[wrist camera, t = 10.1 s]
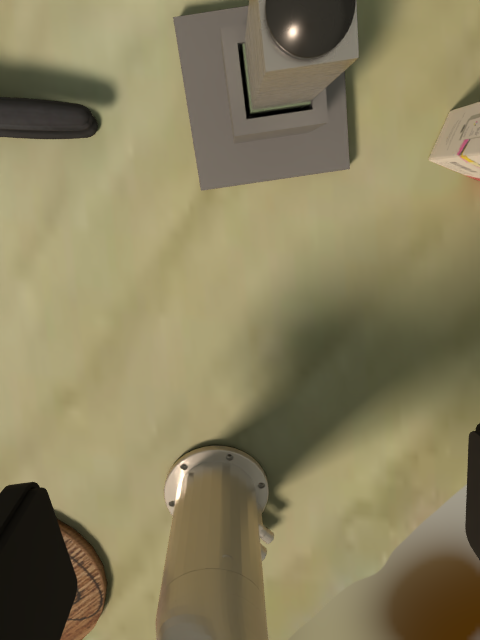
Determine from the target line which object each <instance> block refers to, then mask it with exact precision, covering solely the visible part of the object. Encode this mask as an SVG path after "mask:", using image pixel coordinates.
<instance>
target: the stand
mask: <svg viewBox="0 0 480 640" xmlns="http://www.w3.org/2000/svg"><path fill="white" fill-rule="evenodd" d="M248 8H249V6H243V7H237V8H230V9H224V10H217V11H211V12H204V13H198V14H191V15H185V16H178V17H173V19H174V25H175V31H176V37H177V44H178V50H179V56H180V62H181V69H182V75H183V81H184V87H185V94H186V100H187V106H188V112H189V119H190V125H191V131H192V137H193V144H194V150H195V156H196V162H197V169H198V175H199V181H200V187H201V190H208V189H215V188H222V187H229V186H236V185H243V184H250V183H256V182H263V181H270V180H277V179H284V178H291V177H298V176H305V175H312V174H318V173H325V172H332V171H339V170H346V169H350V164H349V145H348V126H347V108H346V89H345V71H344V72H342V73H341V74H340V75H339V76H338V77H337V78H336V79H335V80H334V81H332V82H331V83H330V84H329V85H328V86H327V87H326V88H325V89H323V90H322V91H321V92H320V93H319V94H318V95H317V96H316V97H315V98H313V99H312V100H311V104H310V105H308V106H304V107H303V108H302V109H301V110H297V111H290V112H283V113H276V114H270V115H263V116H256V117H249V109H248V100H247V92H246V84H245V75H244V67H243V50H242V44H244V43H245V34H246V25H247V16H248Z"/></svg>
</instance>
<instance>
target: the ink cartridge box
mask: <svg viewBox="0 0 480 640" xmlns="http://www.w3.org/2000/svg"><path fill="white" fill-rule="evenodd" d="M429 160H430V161H431V162H434V163H436V164H439V165H441V166H444V167H446V168H448V169H451V170H453V171H456V172H458V173H461V174H463V175H466V176H468V177H471V178H473V179H476V180H478V181H480V102H477V103H473V104H470V105H467V106H464V107H461V108H458V109H454V110H451V111H450V112H449V114H448V116H447V119H446V121H445V123H444V125H443V128H442V130H441V132H440V135H439V137H438V139H437V141H436V143H435V146H434V148H433V150H432V152H431V154H430V157H429Z"/></svg>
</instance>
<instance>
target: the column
mask: <svg viewBox="0 0 480 640" xmlns="http://www.w3.org/2000/svg"><path fill="white" fill-rule="evenodd" d="M242 50H243V67H244V75H245V84H246V92H247V100H248V109H249V117H256V116H263V115H270V114H276V113H283V112H290V111H297V110H301V109H302V108H303V107H304V106H308V105H310V104H311V100H312V99H313V98H315V97H316V96H317V95H318V94H319V93H320V92H321V91H322V90H323V89H325V88H326V87H327V86H328V85H329V84H330V83H331V82H332V81H334V80H335V79H336V78H337V77H338V76H339V75H340V74H341V73H342V72H344V71H345V70H346V69H347V68H348V67H349V66H350V65H351V64H353V63H354V62H355V61H356V60H357V59H358V58H359V50H358V27H357V4H356V0H249V8H248V16H247V25H246V34H245V43H244V44H242Z"/></svg>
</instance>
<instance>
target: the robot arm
mask: <svg viewBox="0 0 480 640" xmlns="http://www.w3.org/2000/svg"><path fill="white" fill-rule="evenodd" d="M268 495H269V491H268V482H267V477H266V475H265V473H264V470H263V469H262V467H261V466H260V465H259V463H258V462H257V461H256V460H255V459H254V458H252V457H251V456H250V455H248V454H246V453H245V452H243V451H241V450H238V449H235V448H232V447H227V446H206V447H202V448H198V449H195V450H193V451H191V452H189V453H187V454H185V455H184V456H182V457H181V458H180V459H178V460H177V461H176V463H175V464H174V465H173V466H172V467H171V469H170V471H169V473H168V475H167V478H166V482H165V488H164V499H165V503H166V506H167V508H168V510H169V511H170V513H171V515H172V516H173V518H172V524H171V530H170V536H169V542H168V548H167V554H166V560H165V566H164V572H163V578H162V584H161V590H160V596H159V602H158V609H157V615H156V638H157V640H268V631H267V620H266V609H265V596H264V583H263V571H262V561H263V559H264V558H265V556H266V554H267V550H266V548H265V547H264V546H263V545H262V544H260V538H261V539H262V540H263V541H265V542H266V543H271V541H272V540H273V538H274V534H273V532H271V531H270V530H269V529H268V528H267V527H265V526H264V525H263V522H262V512H263V511H264V509H265V507H266V504H267V502H268ZM466 501H467V502H466V535H467V538H468V541H469V543H470V546H471V547H472V549H473V550H474V552H475V554H476V555H477V557H478V558H479V560H480V424H478V425H477V427H476V431H472V432H470V434H469V445H468V472H467V500H466ZM76 594H77V577H76V574H75V571H74V568H73V565H72V562H71V559H70V556H69V553H68V550H67V547H66V545H65V542H64V539H63V536H62V533H61V530H60V527H59V524H58V521H57V518H56V515H55V512H54V510H53V507H52V504H51V501H50V498H49V495H48V492H47V490H46V489H45V488H40V487H39V485H38V484H37V483H36V482H29V483H21V484H14V485H8V486H6V487H5V488H4V489H3V490H2V492H1V493H0V640H60V639H61V636H62V633H63V630H64V628H65V625H66V622H67V619H68V617H69V614H70V611H71V608H72V606H73V603H74V600H75V597H76Z"/></svg>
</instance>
